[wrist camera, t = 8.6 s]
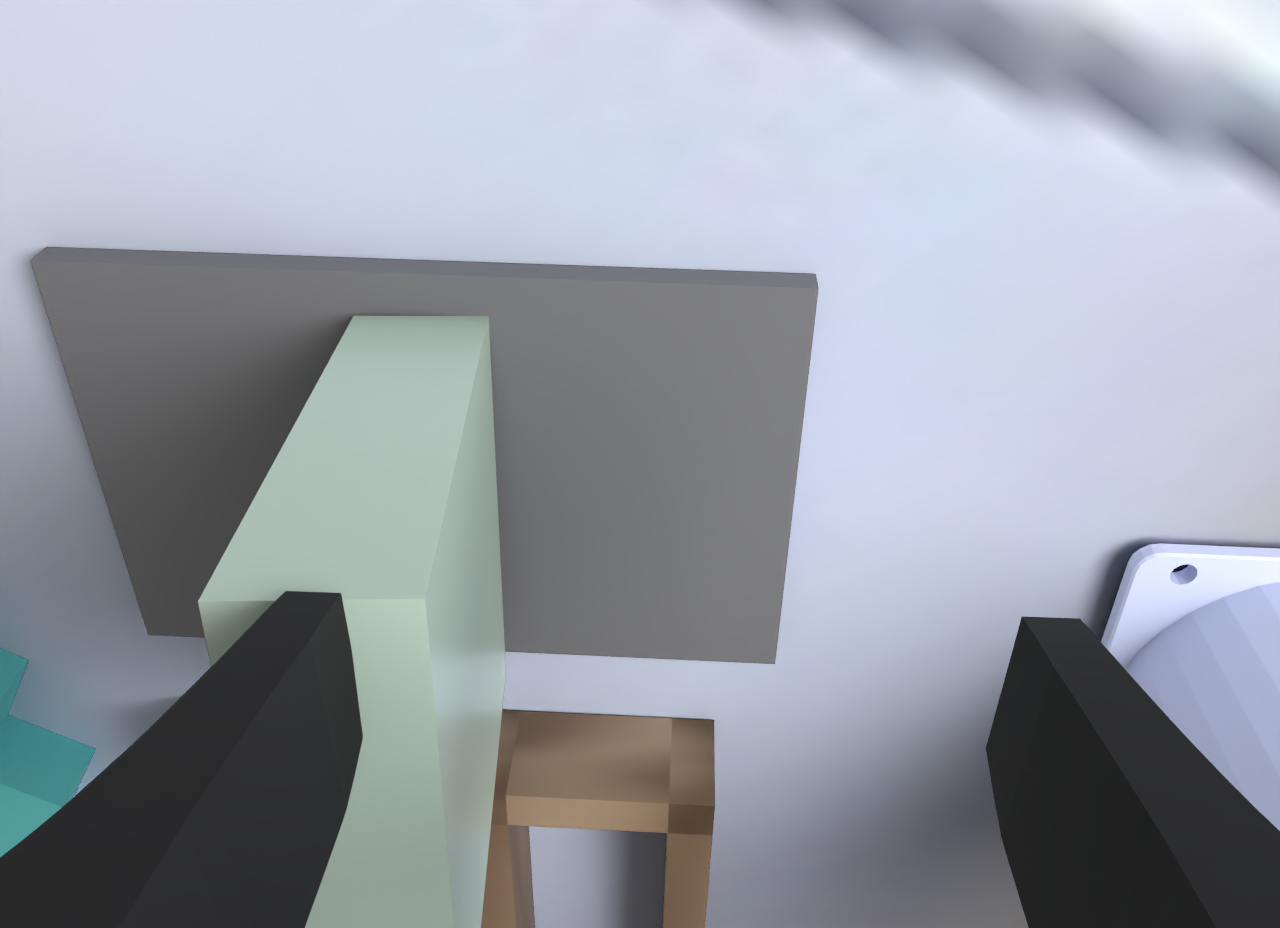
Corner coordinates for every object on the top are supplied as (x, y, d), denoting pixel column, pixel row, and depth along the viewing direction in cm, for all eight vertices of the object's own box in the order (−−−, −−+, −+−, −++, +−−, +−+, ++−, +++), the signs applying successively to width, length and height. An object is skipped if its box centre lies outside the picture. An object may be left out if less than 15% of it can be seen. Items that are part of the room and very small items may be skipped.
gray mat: (815, 274, 20) (818, 288, 19) (773, 645, 25) (774, 663, 24) (47, 246, 20) (30, 260, 20) (159, 617, 25) (148, 634, 25)
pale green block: (488, 315, 20) (425, 598, 12) (506, 672, 23) (467, 1072, 16) (353, 315, 20) (198, 601, 12) (392, 674, 23) (293, 1078, 15)
